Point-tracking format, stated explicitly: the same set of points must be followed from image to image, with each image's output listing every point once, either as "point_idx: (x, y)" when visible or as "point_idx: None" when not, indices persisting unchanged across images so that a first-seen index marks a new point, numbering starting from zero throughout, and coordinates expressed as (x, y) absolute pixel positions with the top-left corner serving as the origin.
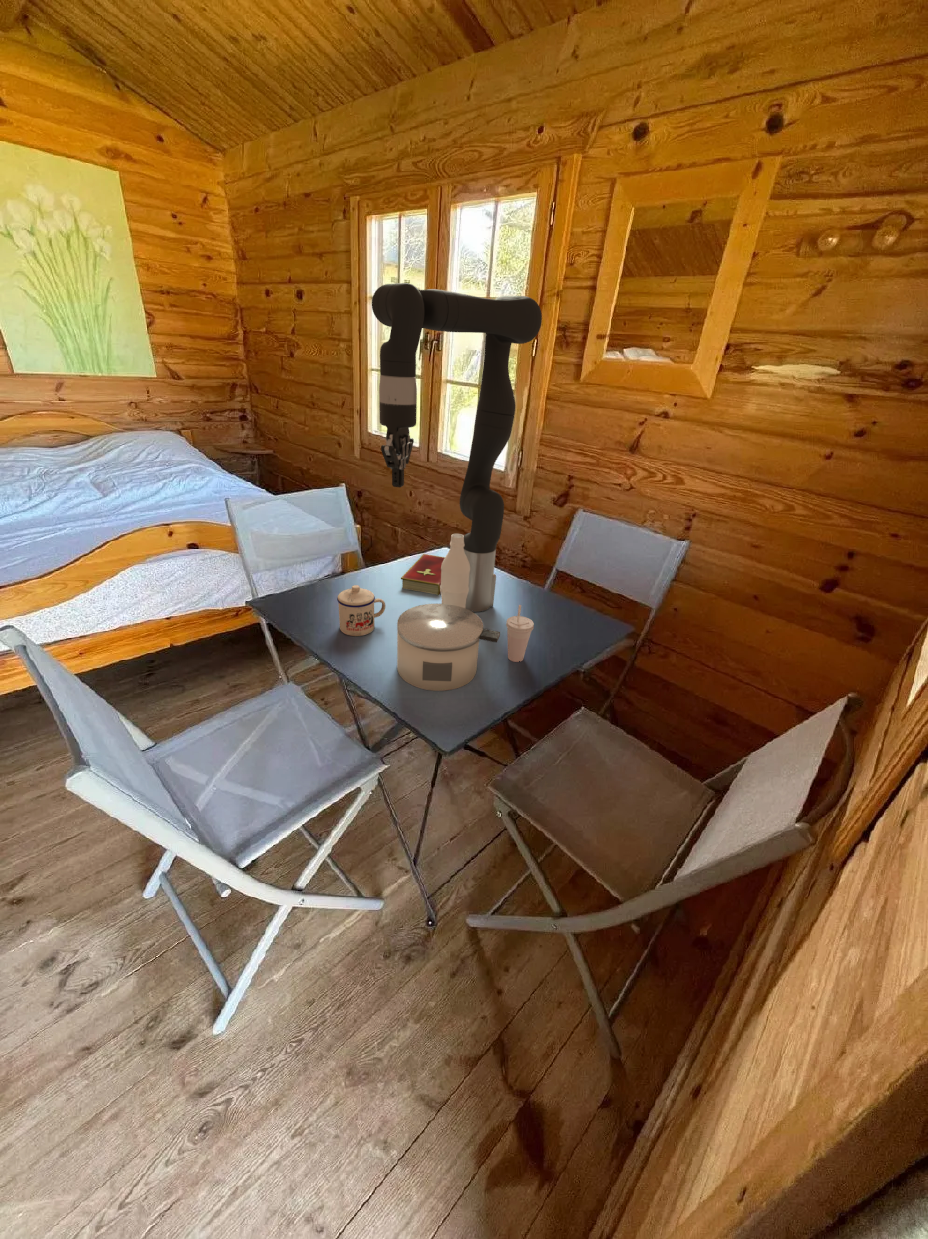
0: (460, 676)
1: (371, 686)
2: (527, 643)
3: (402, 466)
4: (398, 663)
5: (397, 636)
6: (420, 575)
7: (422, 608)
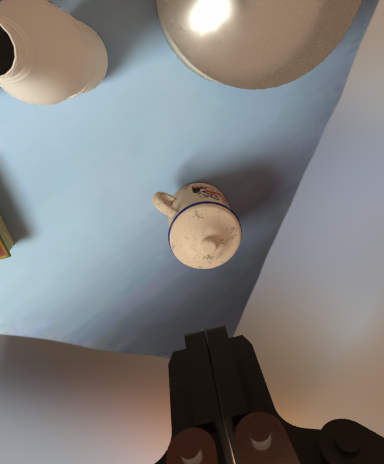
0: None
1: (339, 74)
2: None
3: (263, 439)
4: None
5: None
6: None
7: (219, 60)
